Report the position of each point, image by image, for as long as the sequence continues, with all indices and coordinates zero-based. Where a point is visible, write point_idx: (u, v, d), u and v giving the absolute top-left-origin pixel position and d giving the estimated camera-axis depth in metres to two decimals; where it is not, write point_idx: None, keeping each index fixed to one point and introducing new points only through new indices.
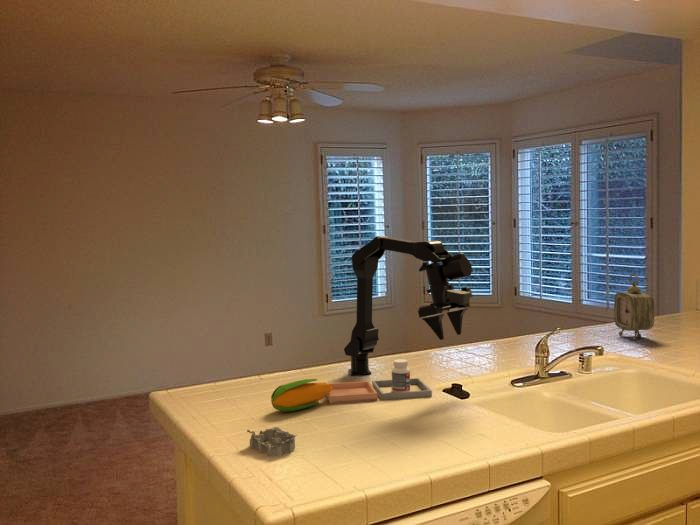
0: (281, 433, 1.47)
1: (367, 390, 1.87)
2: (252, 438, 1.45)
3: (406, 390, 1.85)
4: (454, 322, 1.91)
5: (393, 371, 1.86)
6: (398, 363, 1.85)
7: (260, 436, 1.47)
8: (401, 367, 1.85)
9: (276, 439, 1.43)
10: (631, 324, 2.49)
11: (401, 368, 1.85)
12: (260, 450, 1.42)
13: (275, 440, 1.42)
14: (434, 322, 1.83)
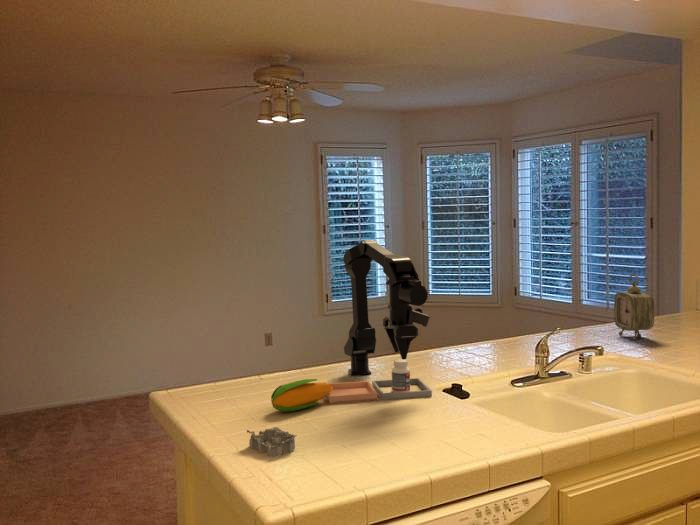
0: (281, 433, 1.47)
1: (367, 390, 1.87)
2: (252, 438, 1.44)
3: (406, 390, 1.85)
4: (394, 339, 1.91)
5: (393, 371, 1.86)
6: (398, 363, 1.85)
7: (260, 436, 1.47)
8: (401, 367, 1.85)
9: (276, 439, 1.43)
10: (631, 324, 2.49)
11: (401, 368, 1.85)
12: (260, 450, 1.42)
13: (275, 440, 1.42)
14: (403, 342, 1.81)
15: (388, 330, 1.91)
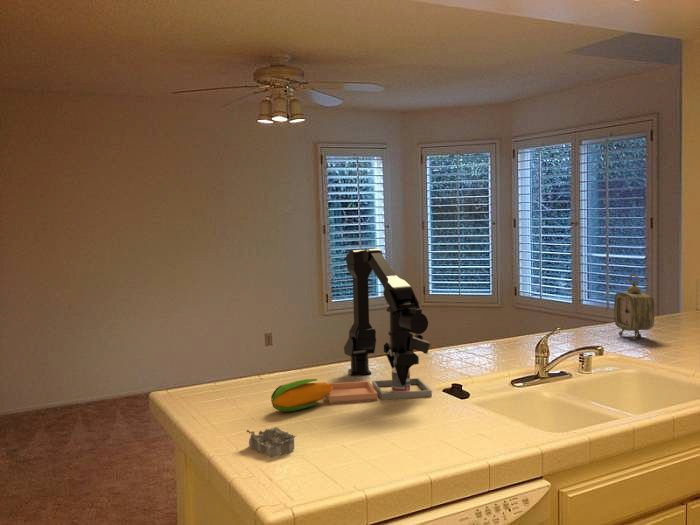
0: (281, 433, 1.47)
1: (367, 390, 1.87)
2: (251, 438, 1.44)
3: (406, 390, 1.85)
4: None
5: (393, 371, 1.86)
6: None
7: (259, 436, 1.47)
8: None
9: (275, 439, 1.42)
10: (631, 324, 2.49)
11: None
12: (259, 450, 1.42)
13: (274, 440, 1.42)
14: (402, 368, 1.83)
15: (390, 358, 1.90)
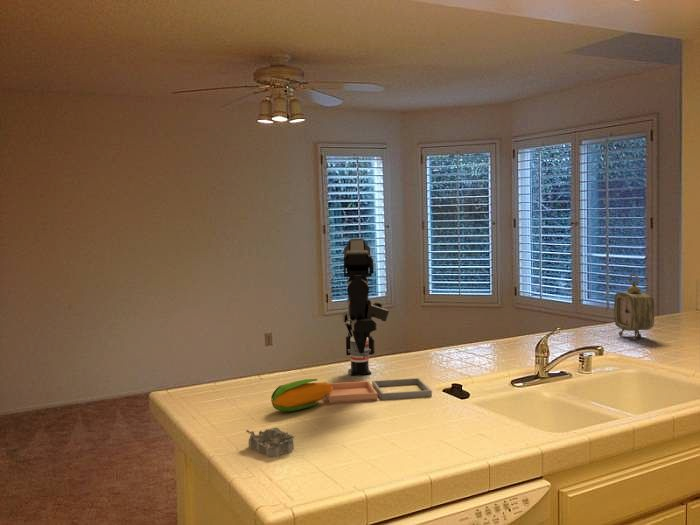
0: (280, 434, 1.47)
1: (367, 390, 1.87)
2: (251, 438, 1.44)
3: (364, 359, 1.82)
4: None
5: (351, 340, 1.82)
6: None
7: (259, 436, 1.47)
8: None
9: (275, 440, 1.42)
10: (631, 324, 2.49)
11: None
12: (258, 450, 1.42)
13: (273, 441, 1.42)
14: (360, 335, 1.80)
15: (348, 326, 1.86)
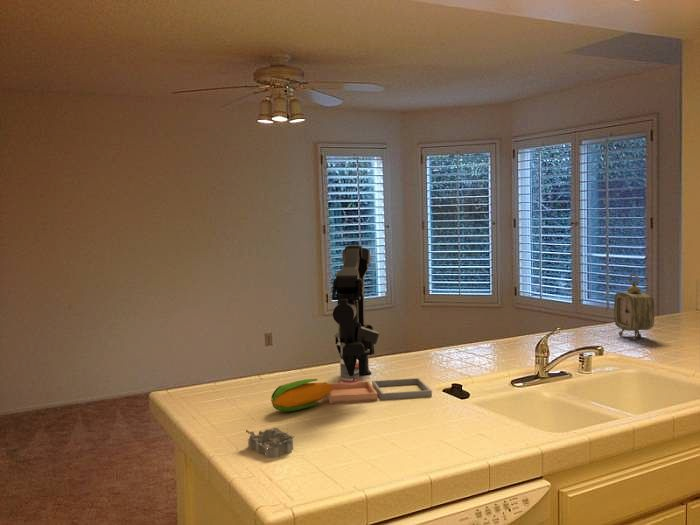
0: (280, 434, 1.46)
1: (367, 390, 1.87)
2: (250, 438, 1.44)
3: (354, 382, 1.82)
4: None
5: (341, 362, 1.83)
6: None
7: (259, 436, 1.47)
8: None
9: (274, 440, 1.42)
10: (631, 324, 2.49)
11: None
12: (258, 451, 1.42)
13: (272, 441, 1.42)
14: (350, 358, 1.80)
15: (339, 348, 1.87)
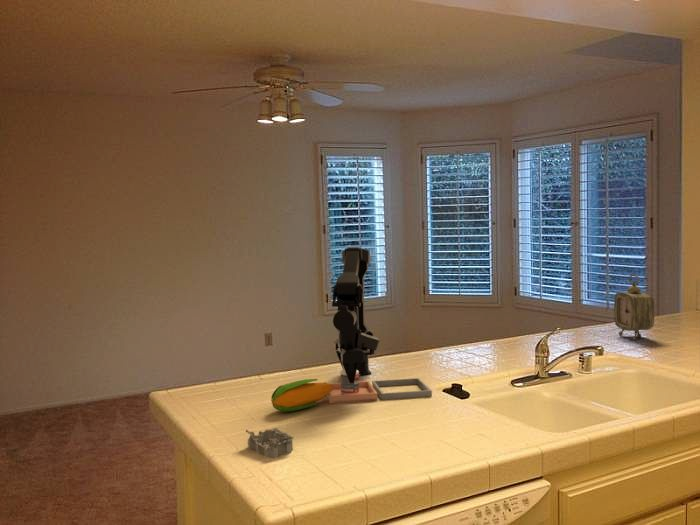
0: (280, 434, 1.46)
1: (367, 390, 1.87)
2: (250, 438, 1.44)
3: (354, 392, 1.82)
4: None
5: (341, 373, 1.83)
6: None
7: (259, 437, 1.47)
8: None
9: (273, 440, 1.42)
10: (631, 324, 2.49)
11: None
12: (257, 451, 1.42)
13: (272, 441, 1.42)
14: (350, 365, 1.79)
15: (339, 354, 1.88)
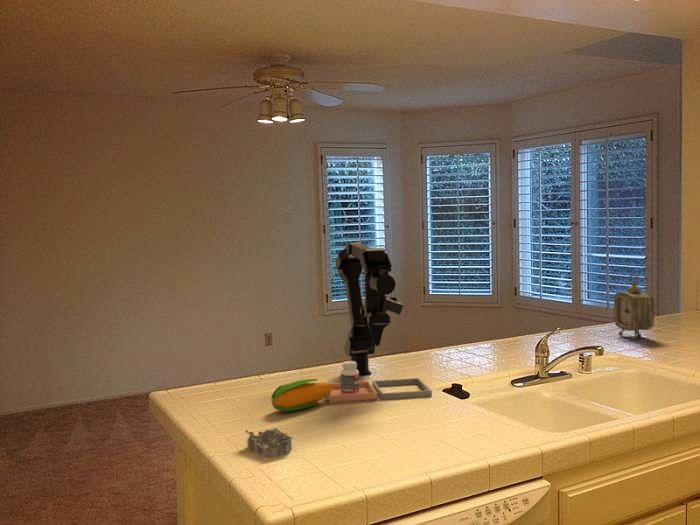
0: (279, 434, 1.46)
1: (367, 390, 1.87)
2: (249, 439, 1.44)
3: (354, 392, 1.82)
4: None
5: (341, 373, 1.83)
6: (346, 365, 1.82)
7: (258, 437, 1.47)
8: (349, 369, 1.82)
9: (272, 440, 1.42)
10: (631, 324, 2.49)
11: (349, 370, 1.82)
12: (256, 451, 1.42)
13: (271, 441, 1.42)
14: (376, 329, 1.88)
15: (364, 318, 1.99)
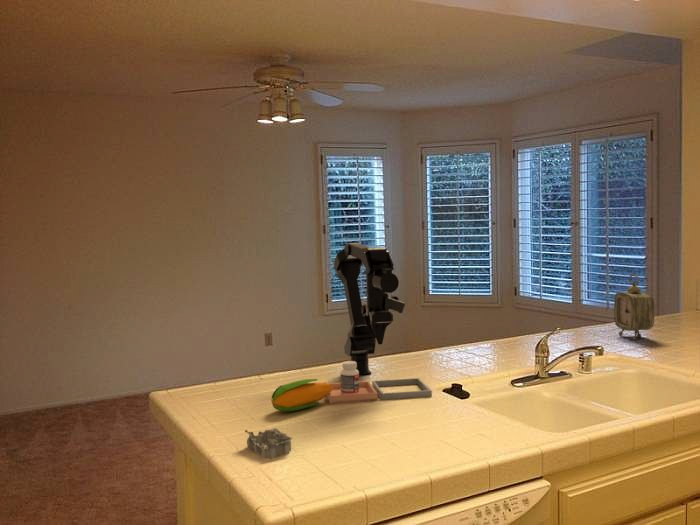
0: (279, 435, 1.46)
1: (367, 390, 1.87)
2: (249, 438, 1.44)
3: (354, 392, 1.82)
4: (371, 326, 1.99)
5: (341, 373, 1.83)
6: (346, 365, 1.82)
7: (258, 437, 1.47)
8: (349, 369, 1.82)
9: (272, 441, 1.42)
10: (631, 324, 2.49)
11: (349, 370, 1.82)
12: (256, 451, 1.42)
13: (270, 442, 1.41)
14: (379, 327, 1.89)
15: (366, 317, 1.99)
